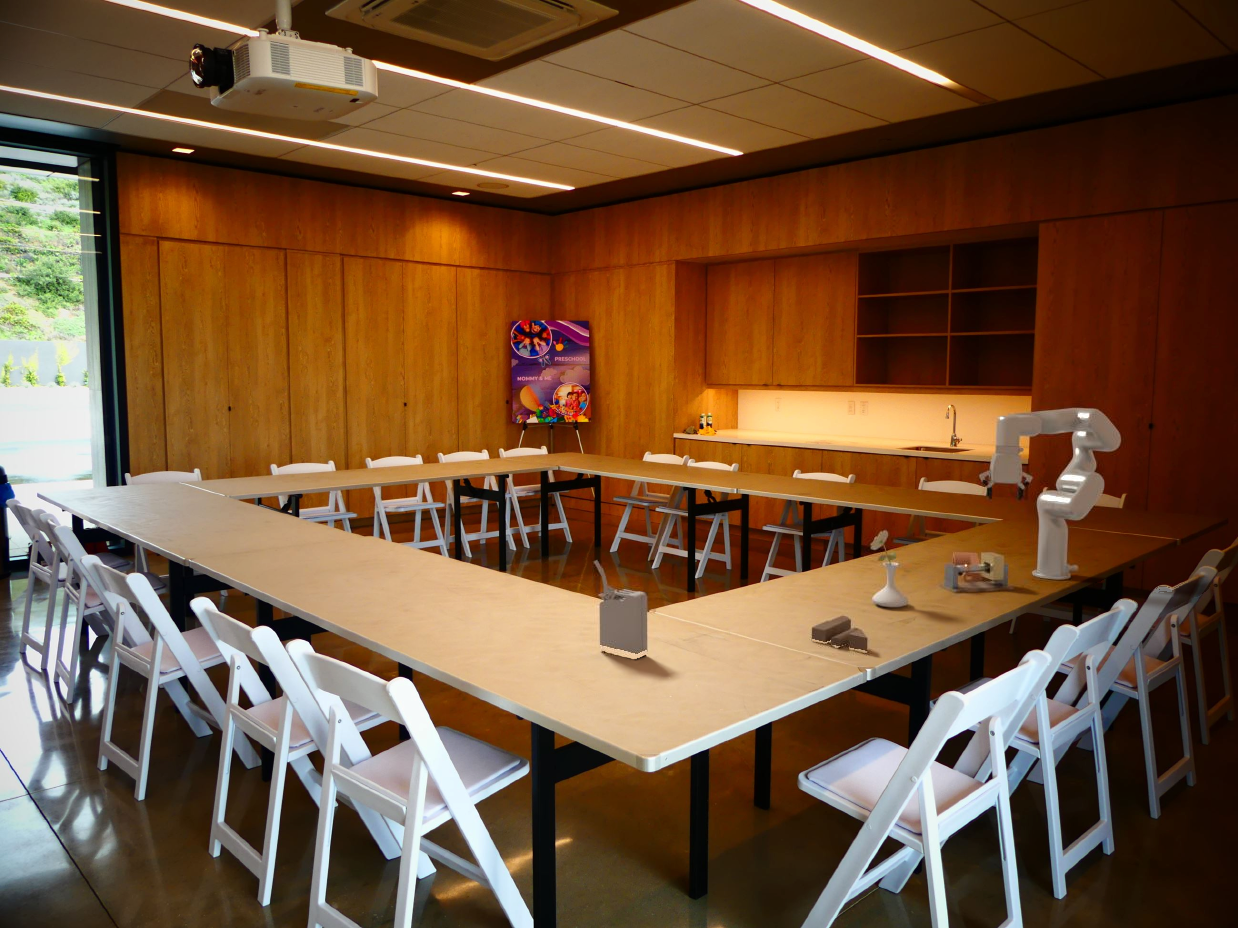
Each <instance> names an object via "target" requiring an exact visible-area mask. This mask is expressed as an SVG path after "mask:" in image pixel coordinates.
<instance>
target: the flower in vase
mask: <svg viewBox="0 0 1238 928" xmlns="http://www.w3.org/2000/svg"><path fill="white" fill-rule="evenodd" d="M888 537H889V531H887V530H886V529H884V530H883V531H882V530H881V531H879V533H878V535H877V536H875V537H874V539H873V541H872V542H871V543H870V550H873V551H877V550H878V549H879V548H880V547H882V546H883V548H884V551H885V554H882V555H880V556H879V558H878V559H877V562H883V561H885V560H886V559H887V560H888V561H886V562H883V563H882V564H883V566H884V567H885V570H886V577H887V578H886V579H887V581H886V585H885V587H883V588H882V589H881V590H878V591H877V592H876V593H875V594H874V595H873V596H872V599H871V601H872V602H873V603H874V604H875V605H878V606H881V607H885V608H886V607H887V608H902V607H904V606H908V604H909V603H910V601H909V598H908V597H907V596H906V595H905V594H904V593H903V592H901V590H899V588H897V587H896V584H895V577H896V576H895V575H896V571H897V569H898V567H899V566H900V564H899V562H895V561H894V562H893V560H895V559H896V558H897V552H896V551H893V552H892V553H890V554H888V552H887V551H888V550H887V549H886V546H885V542H886V541H887V538H888ZM891 561H892V562H891Z"/></svg>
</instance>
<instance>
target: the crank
mask: <svg viewBox="0 0 1238 928" xmlns="http://www.w3.org/2000/svg"><path fill="white" fill-rule="evenodd" d="M951 562H952V563H951V564H953V565H955V566H960V565H965V564H967V565H979V564H981V561H980V560H979V556H978V553H977V552H966V551H965V552H962V551H960V552H959V551H953V553H952V561H951ZM960 574H962V576H961V578H962V579H961V580H963V583H965V582H983V580H984V579H983V578H984V577H983V576H981V572H969V573H960ZM967 576H970V578H969V579H967Z"/></svg>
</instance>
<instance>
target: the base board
mask: <svg viewBox="0 0 1238 928" xmlns="http://www.w3.org/2000/svg"><path fill="white" fill-rule="evenodd" d="M938 586H939V587H940V588H942V589H945V590H946V591H949V592H952V593H954V594H962V593H963V594H964V593H981V591H983V592H997V591H998V590H1000V591H1012V590H1014V587H1013V586H1012V585H1011V586H1010V585H1008V586H1001V585H998V584H996V583H994V580H986V581H983V582H958V589H951V588H949V587H947V586H945V583H939V585H938ZM998 592H999V591H998Z"/></svg>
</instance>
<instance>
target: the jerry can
mask: <svg viewBox="0 0 1238 928" xmlns="http://www.w3.org/2000/svg"><path fill="white" fill-rule="evenodd" d="M593 564H595V567H596V569H597V570H598V572H599V573H600V576H601V579H602V583H603V593H599V594H598V597H599V598H601V600H602V601H600V603H599V606H598V607H599V646H600V645H602V646H607V647H610V648H614V649H620V650H624V651H628V652H631V653H635V654H638V653H640V652H642V651H645V650H647V651H648V596H647V593H646V592H645V591H639V590H638V591H634V590H629V589H625V588H624V589H622V590H618V589H616V588H612V586H610V585H608V580H607V577H606V573H605V570H604V568H603V567H602V565H600V562H599V561H598V559H596V560H594V561H593Z"/></svg>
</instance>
